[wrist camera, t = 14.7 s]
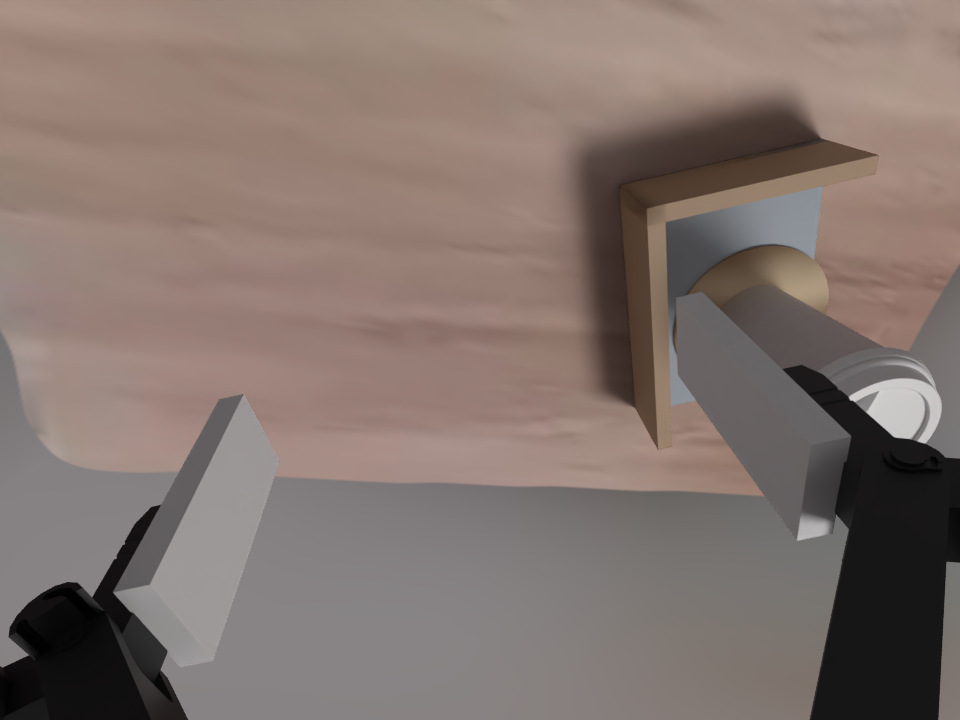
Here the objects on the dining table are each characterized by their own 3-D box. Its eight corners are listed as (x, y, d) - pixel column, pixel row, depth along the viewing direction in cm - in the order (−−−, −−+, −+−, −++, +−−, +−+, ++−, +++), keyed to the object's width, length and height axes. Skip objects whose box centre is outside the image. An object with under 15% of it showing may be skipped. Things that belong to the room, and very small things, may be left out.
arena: (619, 185, 41) (646, 208, 36) (821, 138, 40) (879, 155, 35) (635, 408, 52) (658, 449, 47) (794, 373, 51) (835, 412, 46)
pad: (672, 265, 44) (673, 267, 44) (836, 228, 43) (838, 230, 43) (675, 396, 51) (676, 398, 50) (817, 365, 50) (819, 367, 50)
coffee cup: (752, 246, 43) (890, 340, 30) (832, 299, 46) (988, 404, 33) (673, 341, 47) (765, 459, 34) (752, 384, 50) (863, 507, 37)
